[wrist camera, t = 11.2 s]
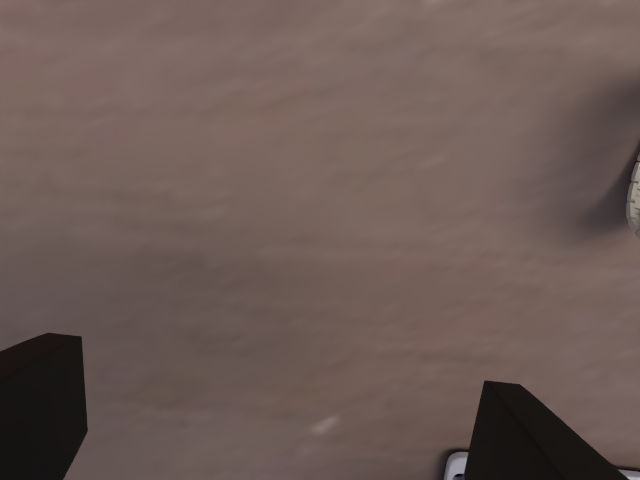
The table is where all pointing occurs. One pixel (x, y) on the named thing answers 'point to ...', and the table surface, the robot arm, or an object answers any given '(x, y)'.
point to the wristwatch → (634, 201)
